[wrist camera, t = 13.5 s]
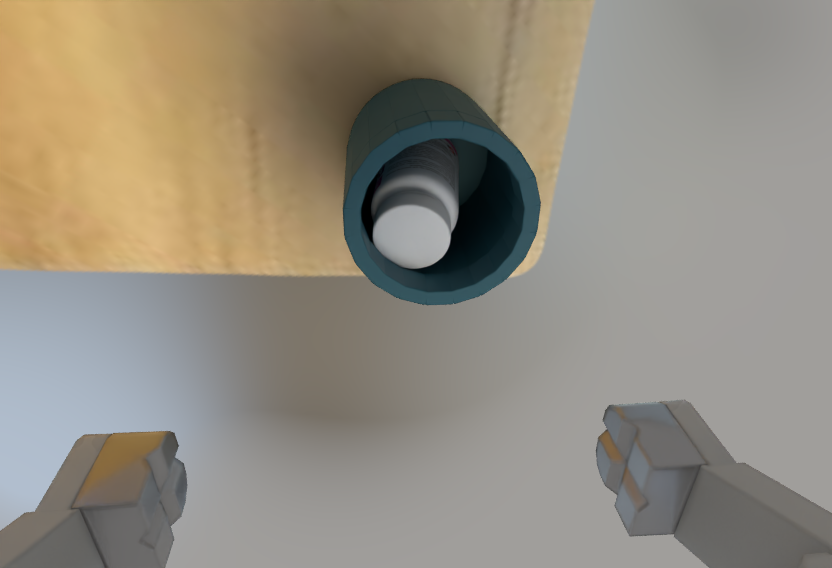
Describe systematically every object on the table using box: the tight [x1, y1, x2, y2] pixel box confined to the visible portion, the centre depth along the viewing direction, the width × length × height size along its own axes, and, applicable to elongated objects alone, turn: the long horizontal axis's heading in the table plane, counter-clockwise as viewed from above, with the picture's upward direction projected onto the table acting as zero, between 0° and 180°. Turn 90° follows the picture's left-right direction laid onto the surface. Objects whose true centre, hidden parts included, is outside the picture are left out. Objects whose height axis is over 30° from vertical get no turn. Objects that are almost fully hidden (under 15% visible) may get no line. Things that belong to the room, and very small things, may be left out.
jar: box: [343, 79, 541, 305], centre depth 31 cm, size 9×9×11 cm
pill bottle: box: [371, 139, 459, 269], centre depth 31 cm, size 5×5×8 cm
